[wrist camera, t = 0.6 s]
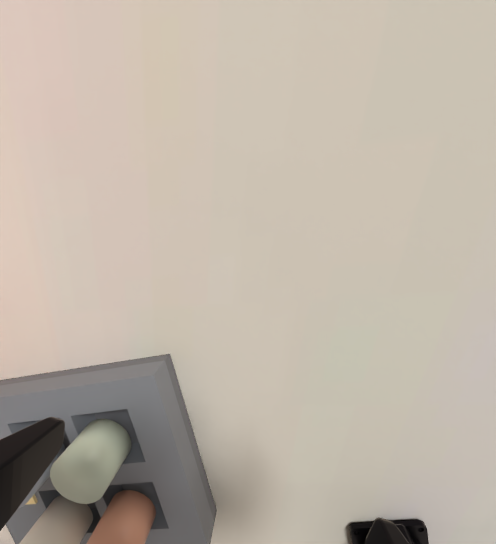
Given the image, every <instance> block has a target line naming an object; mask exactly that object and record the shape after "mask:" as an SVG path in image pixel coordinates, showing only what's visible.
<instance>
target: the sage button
mask: <svg viewBox="0 0 496 544" xmlns="http://www.w3.org/2000/svg"><path fill="white" fill-rule="evenodd" d="M130 450H131V439H130V436H129V434H128V432H127V431H126V430H125V429H124V428H123V427H122V426H121V425H120V424H118V423H116V422H115V421H112V420H109V419H97V420H94V421H92V422H90V423H89V424H88V425H87V426H86V427H85V428H84V430H83V431H82V432H81V433H80V434H79V435H78V436H77V437H76V439H75V440H74V441H73V442H72V443H71V444H70V445H69V446H68V447H67V449H66V450H65V451H64V452H63V453H62V454H61V455H60V456H59V458H58V459H57V460H56V461H55V462H54V463H53V465H52V466H51V469H50V478H51V481H52V484H53V486H54V487H55V489H56V490H57V491H58V492H59V493H60V494H61V495H62V496H63V497H65V498H67V499H68V500H70V501H73V502H76V503H80V504H90V503H94V502H96V501H98V500H99V499H100V498H101V497H102V496H103V494H104V493H105V491H106V490H107V488H108V486H109V485H110V483H111V481H112V480H113V478H114V477H115V475H116V473H117V472H118V470H119V468H120V467H121V465H122V463H123V462H124V460H125V459H126V457H127V455H128V454H129V452H130Z"/></svg>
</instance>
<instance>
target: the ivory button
mask: <svg viewBox="0 0 496 544" xmlns="http://www.w3.org/2000/svg"><path fill="white" fill-rule="evenodd" d="M92 521H93V514H92V511H91V509H90V508H89V506H88V505H87V504H80V503H76V502H73V501H70V500H68V499H67V498H65V497H63V496H62V495H61V496H58V497H56V498H55V499H54V500H53V501H52V502H51V503H50V505H49V506H48V507H47V509H46V510H45V511H44V512H43V514H42V515H41V516H40V518H39V519H38V520H37V521H36V523H35V524H34V525H33V527H32V528H31V529H30V530H29V532H28V533H27V534H26V535H25V537H24V538H23V539H22V541H21V542H20V543H19V544H80V542H81V541H82V539H83V537H84V536H85V534H86V532H87V531H88V529H89V527H90V525H91V524H92Z"/></svg>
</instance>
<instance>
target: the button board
mask: <svg viewBox="0 0 496 544" xmlns="http://www.w3.org/2000/svg"><path fill="white" fill-rule="evenodd" d="M48 417H55V418H59V419H62V420H64V422H65V430H64V439H63V444H64V446H65V450H66V449H67V447H68V446H69V445H70V444H71V443H72V442H73V441H74V440H75V439H76V437H77V436H78V435H79V434H80V433H81V432H82V431H83V430H84V428H85V427H86V426H87V425H88V424H89V423H90V422H92V421H94V420H97V419H109V420H112V421H115V422H116V423H118V424H120V425H121V426H122V427H123V428H124V429H125V430H126V431H127V432H128V434H129V436H130V439H131V450H130V452H129V454H128V455H127V457H126V459H125V460H124V462H123V463H122V465H121V467H120V468H119V470H118V472H117V473H116V475H115V477H114V478H113V480H112V481H111V483H110V485H109V486H108V488H107V490H106V491H105V493H104V494H103V496H102V497H101V498H100V499H99V500H98V501H96V502H94V503H90V504H87V505H88V506H89V508H90V509H91V511H92V514H93V521H92V524H91V525H90V527H89V529H88V531H87V532H86V534H85V536H84V537H83V539H82V541H81V542H80V544H87V542H88V540H89V538H90V537H91V535H92V533H93V531H94V530H95V528H96V526H97V524H98V523H99V521H100V519H101V517H102V516H103V514H104V512H105V510H106V509H107V507H108V505H109V503H110V502H111V500H112V498H113V497H114V495H115V494H116V493H118V492H120V491H123V490H133V491H137V492H140V493H142V494H144V495H145V496H147V497H148V498H149V499H150V500H151V501H152V503H153V504H154V506H155V509H156V516H155V519H154V522H153V524H152V527H151V529H150V532H149V534H148V537H147V539H146V542H145V544H210V542H211V536H212V531H213V526H214V521H215V516H216V506H215V503H214V500H213V496H212V493H211V490H210V486H209V483H208V480H207V476H206V473H205V470H204V466H203V463H202V460H201V456H200V453H199V450H198V446H197V443H196V440H195V436H194V433H193V430H192V426H191V423H190V420H189V416H188V413H187V410H186V406H185V403H184V400H183V396H182V393H181V390H180V386H179V383H178V380H177V376H176V373H175V369H174V366H173V363H172V359H171V356H170V354H166V355H160V356H154V357H147V358H141V359H134V360H128V361H121V362H115V363H109V364H102V365H96V366H89V367H83V368H76V369H70V370H64V371H57V372H51V373H44V374H38V375H31V376H25V377H19V378H12V379H6V380H0V439H2V438H5V437H7V436H9V435H11V434H13V433H15V432H18V431H20V430H22V429H24V428H26V427H28V426H30V425H33V424H35V423H37V422H39V421H41V420H43V419H45V418H48ZM58 496H61V494H60V493H59V492H58V491H57V490H56V489H55V487H54V486H53V484H52V481H51V478H50V477H49V478H48V479H47V480H46V481H45V482H44V484H43V485H42V486H41V487H40V488H39V489H38V490H37V492H36V493H35V494H34V495H33V496H32V497H31V499H30V500H29V501H28V502H27V503H26V504H25V505H24V506H23V507H21V508H18V509H17V510H16V512H15V513H14V514H13V516H12V517H11V518H10V519H9V521H8V522H7V523H6V526H7V528H8V530H9V532H10V534H11V536H12V538H13V540H14V542H15V544H19V543H20V542H21V541H22V539H23V538H24V537H25V535H26V534H27V533H28V532H29V530H30V529H31V528H32V527H33V525H34V524H35V523H36V521H37V520H38V519H39V518H40V516H41V515H42V514H43V512H44V511H45V510H46V509H47V507H48V506H49V505H50V503H51V502H52V501H53V500H54V499H55V498H56V497H58Z"/></svg>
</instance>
